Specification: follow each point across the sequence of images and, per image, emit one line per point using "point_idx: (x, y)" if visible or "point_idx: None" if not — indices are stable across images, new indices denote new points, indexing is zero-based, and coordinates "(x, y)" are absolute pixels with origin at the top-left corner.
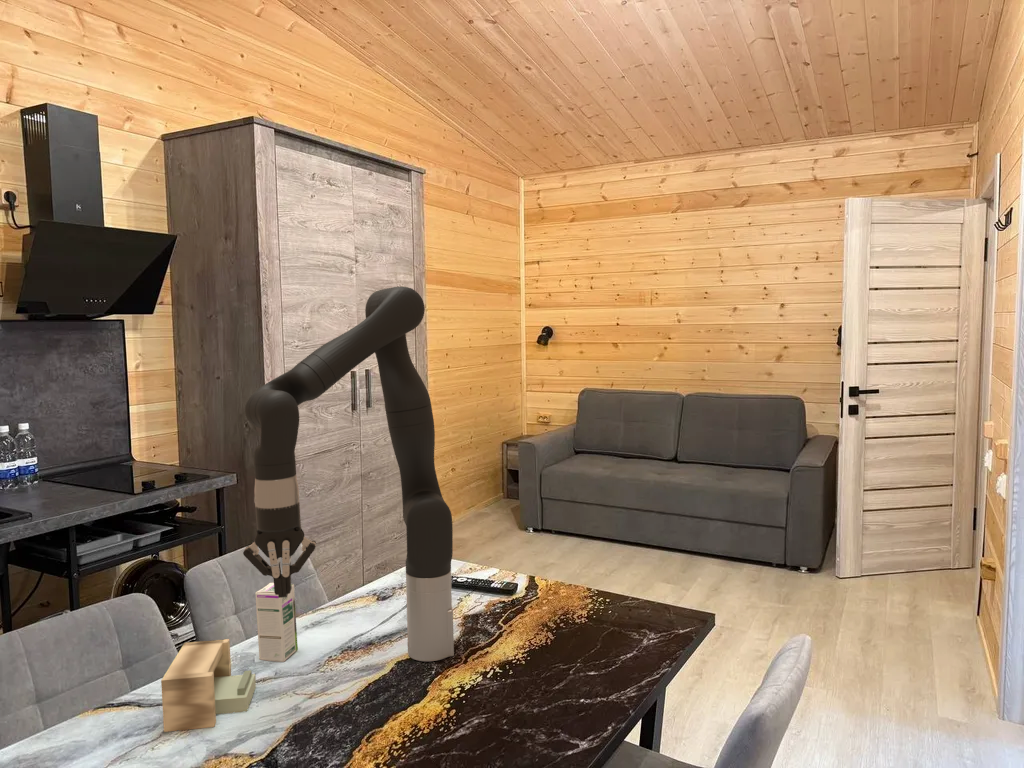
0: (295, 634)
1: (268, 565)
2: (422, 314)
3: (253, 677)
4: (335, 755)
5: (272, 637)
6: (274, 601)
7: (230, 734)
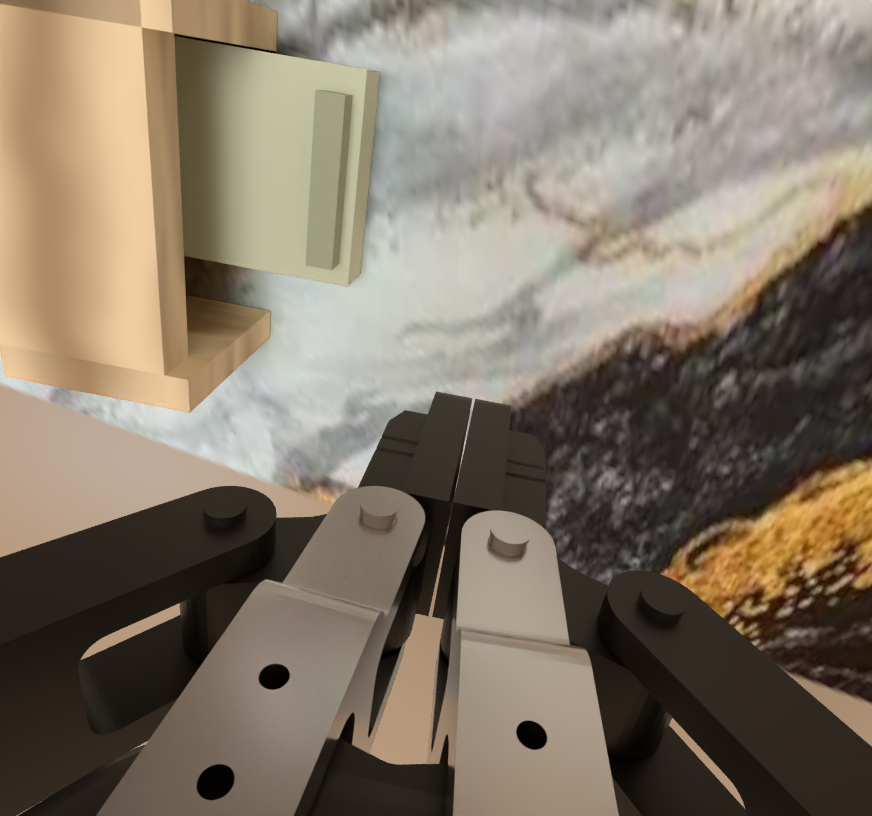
0: None
1: (227, 584)
2: None
3: (361, 109)
4: None
5: None
6: None
7: (324, 395)
